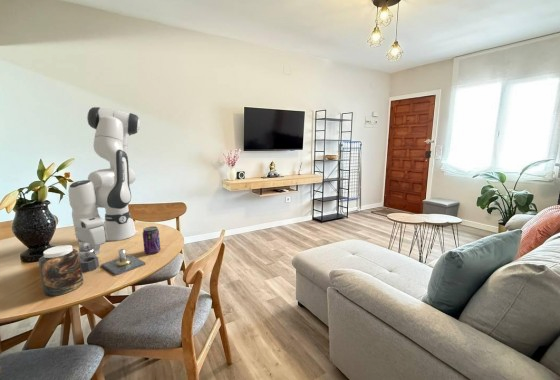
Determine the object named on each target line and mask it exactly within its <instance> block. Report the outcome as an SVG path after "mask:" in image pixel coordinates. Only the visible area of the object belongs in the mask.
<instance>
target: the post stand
mask: <svg viewBox="0 0 560 380" xmlns="http://www.w3.org/2000/svg"><path fill="white" fill-rule="evenodd" d="M145 265H146V262H145V261H143V260H141V259H140V258H138V257H136V256H134V255H133V254H128V255H127V252H126V249H125V248H123V249H121V248H120V249H119V250H118V258H116V259H113V260H110V261H107V262H103V263H101V267H102V268H104V269H106V270H107V271H108V272H109V273H111V274H113V275H114V276H119V275H122V274H124V273H127V272H129V271H132V270H134V269H137V268H140V267H143V266H145Z"/></svg>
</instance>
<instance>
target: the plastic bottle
mask: <svg viewBox="0 0 560 380" xmlns="http://www.w3.org/2000/svg"><path fill="white" fill-rule="evenodd" d="M77 242H78V253H79V257H80V260H81V259H83V258H86V257H91V256H96V257H97V255H95V254H94V253H93V250H94V247H93V245H91V244H89V245H90V249H89V250H85V249H84V246H83V244H82V242H81V240H79V239H77Z"/></svg>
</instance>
